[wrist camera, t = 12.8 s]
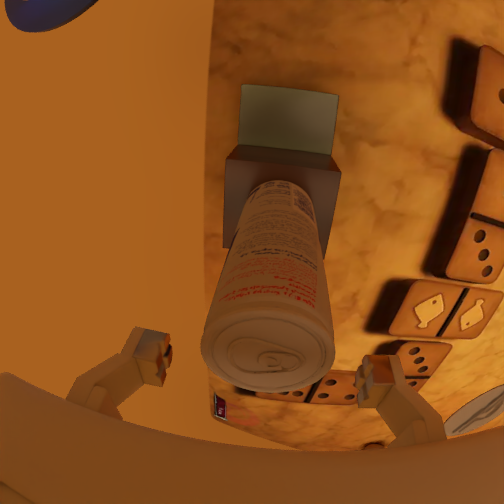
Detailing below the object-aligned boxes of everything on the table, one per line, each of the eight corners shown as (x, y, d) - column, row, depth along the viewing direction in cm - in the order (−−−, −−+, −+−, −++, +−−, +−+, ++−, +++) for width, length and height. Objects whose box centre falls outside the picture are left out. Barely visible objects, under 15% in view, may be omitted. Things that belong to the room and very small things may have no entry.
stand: (247, 84, 29) (229, 82, 20) (331, 94, 28) (352, 97, 19) (240, 202, 36) (222, 248, 27) (314, 210, 36) (324, 259, 26)
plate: (496, 377, 51) (498, 381, 50) (530, 386, 54) (532, 389, 53) (424, 433, 65) (424, 437, 64) (470, 434, 68) (471, 437, 67)
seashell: (388, 436, 66) (361, 443, 67) (393, 456, 60) (365, 463, 61) (384, 449, 70) (359, 454, 71) (388, 467, 64) (362, 473, 65)
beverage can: (231, 199, 24) (170, 337, 12) (292, 165, 22) (297, 286, 10) (266, 251, 27) (245, 405, 14) (325, 223, 25) (354, 376, 12)
